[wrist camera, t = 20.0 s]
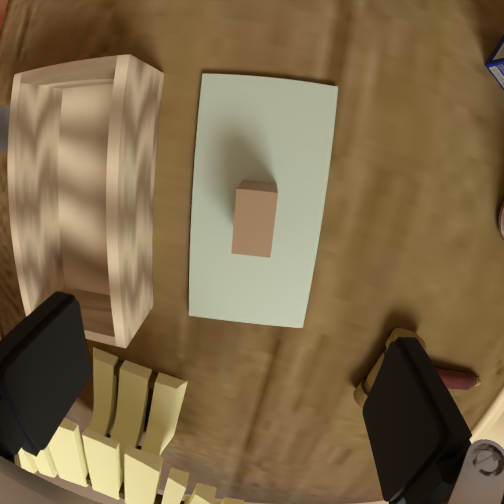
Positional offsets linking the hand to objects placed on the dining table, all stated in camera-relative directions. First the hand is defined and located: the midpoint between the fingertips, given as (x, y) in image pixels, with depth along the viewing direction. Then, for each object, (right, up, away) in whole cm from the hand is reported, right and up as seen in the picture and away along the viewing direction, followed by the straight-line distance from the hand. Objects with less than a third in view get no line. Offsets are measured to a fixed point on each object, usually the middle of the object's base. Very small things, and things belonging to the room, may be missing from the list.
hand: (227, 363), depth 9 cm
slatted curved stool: (-16, -18, +31) cm, 39 cm away
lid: (+1, +7, +21) cm, 23 cm away
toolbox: (-16, +9, +21) cm, 28 cm away
